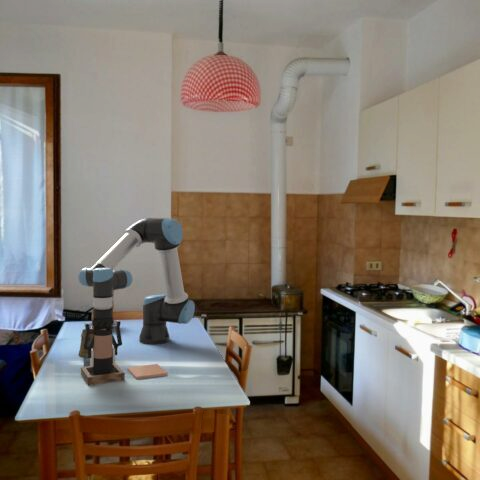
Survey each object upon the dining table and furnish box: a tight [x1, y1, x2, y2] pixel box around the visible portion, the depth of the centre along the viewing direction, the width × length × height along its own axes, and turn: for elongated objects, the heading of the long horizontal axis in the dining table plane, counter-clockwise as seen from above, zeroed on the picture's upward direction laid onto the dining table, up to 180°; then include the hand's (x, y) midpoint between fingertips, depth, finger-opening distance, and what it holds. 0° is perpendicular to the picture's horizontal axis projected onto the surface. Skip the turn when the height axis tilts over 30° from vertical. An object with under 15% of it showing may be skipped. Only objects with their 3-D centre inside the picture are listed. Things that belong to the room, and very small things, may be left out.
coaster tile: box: [126, 363, 169, 380], centre depth 218 cm, size 13×13×1 cm
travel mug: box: [92, 327, 114, 376], centre depth 210 cm, size 8×8×20 cm
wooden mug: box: [78, 328, 93, 358], centre depth 242 cm, size 9×14×18 cm, turn 93°
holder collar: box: [80, 362, 126, 386], centre depth 210 cm, size 14×14×3 cm
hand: (102, 364), depth 210 cm, fingers closed on travel mug, 8 cm apart
